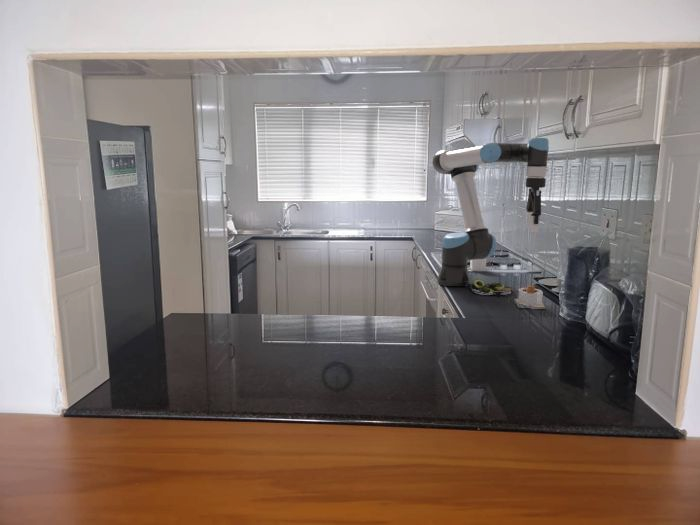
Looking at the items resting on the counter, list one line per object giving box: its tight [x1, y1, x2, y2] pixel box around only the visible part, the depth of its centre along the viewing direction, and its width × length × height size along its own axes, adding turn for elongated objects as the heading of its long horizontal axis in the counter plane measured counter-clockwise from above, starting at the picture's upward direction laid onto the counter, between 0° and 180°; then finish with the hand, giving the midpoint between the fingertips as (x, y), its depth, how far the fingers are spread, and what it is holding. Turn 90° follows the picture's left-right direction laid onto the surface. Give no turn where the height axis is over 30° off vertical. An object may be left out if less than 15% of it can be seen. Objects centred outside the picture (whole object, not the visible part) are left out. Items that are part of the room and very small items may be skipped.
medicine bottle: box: [469, 258, 487, 272], centre depth 264 cm, size 7×7×12 cm
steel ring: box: [516, 287, 544, 306], centre depth 200 cm, size 9×9×5 cm
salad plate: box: [469, 278, 516, 295], centre depth 222 cm, size 19×18×5 cm
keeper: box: [514, 284, 546, 309], centre depth 200 cm, size 10×10×8 cm
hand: (531, 229), depth 207 cm, fingers open, 13 cm apart
